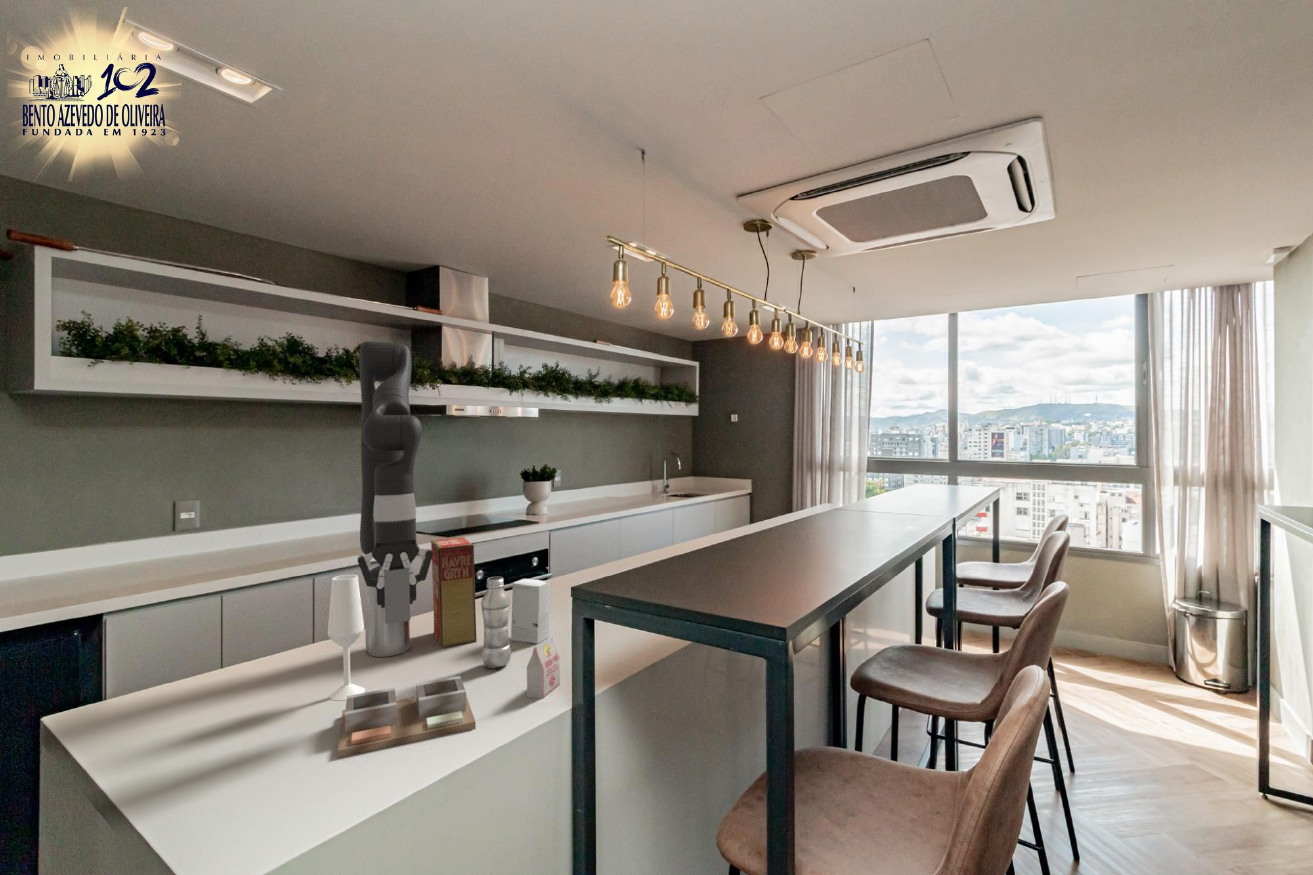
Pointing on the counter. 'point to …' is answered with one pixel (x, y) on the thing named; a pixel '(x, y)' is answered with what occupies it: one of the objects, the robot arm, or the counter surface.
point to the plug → (397, 595)
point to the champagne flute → (345, 626)
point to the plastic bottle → (495, 624)
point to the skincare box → (530, 611)
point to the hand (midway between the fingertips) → (397, 604)
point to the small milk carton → (543, 670)
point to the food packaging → (453, 591)
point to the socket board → (404, 716)
